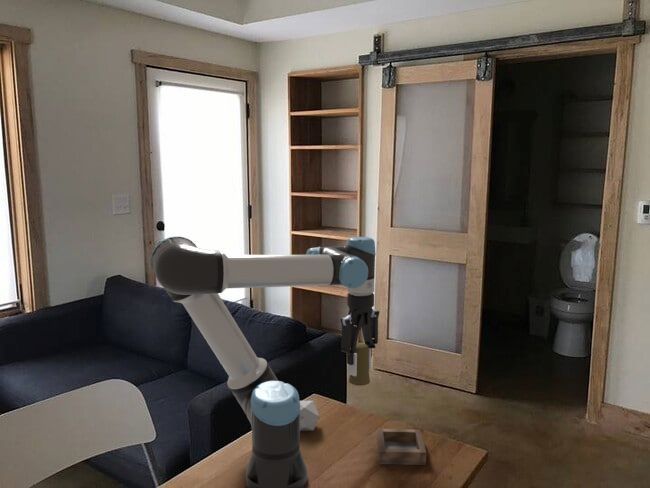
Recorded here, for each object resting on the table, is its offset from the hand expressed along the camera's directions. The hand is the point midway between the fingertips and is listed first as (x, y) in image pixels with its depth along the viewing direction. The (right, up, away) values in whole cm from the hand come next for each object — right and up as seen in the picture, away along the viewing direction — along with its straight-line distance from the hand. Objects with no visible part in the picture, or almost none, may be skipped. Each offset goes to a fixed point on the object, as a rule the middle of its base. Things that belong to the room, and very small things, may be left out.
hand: (359, 371), depth 153 cm
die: (-16, -18, +6) cm, 25 cm away
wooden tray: (+11, -20, -7) cm, 24 cm away
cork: (0, -3, 0) cm, 3 cm away
